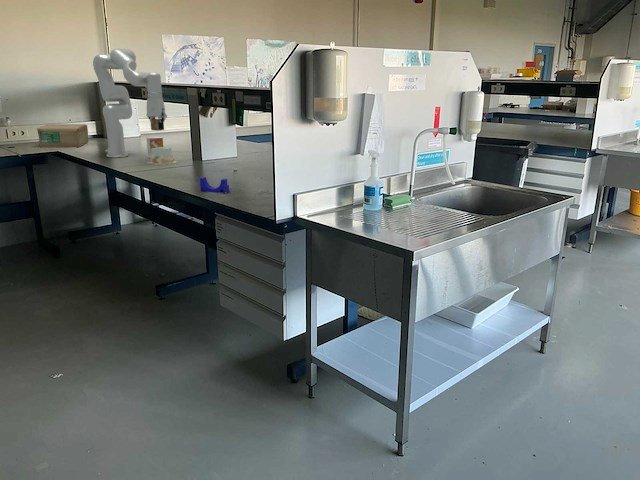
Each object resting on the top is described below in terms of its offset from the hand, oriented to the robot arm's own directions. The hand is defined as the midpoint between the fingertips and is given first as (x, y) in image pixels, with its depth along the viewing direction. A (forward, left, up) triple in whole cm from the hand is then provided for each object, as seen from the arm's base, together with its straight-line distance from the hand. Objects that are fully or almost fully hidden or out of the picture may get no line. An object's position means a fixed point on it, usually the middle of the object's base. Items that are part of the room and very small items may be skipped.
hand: (157, 128), depth 300 cm
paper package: (-110, +23, -20) cm, 114 cm away
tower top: (+1, +1, -15) cm, 15 cm away
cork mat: (+1, +1, -20) cm, 20 cm away
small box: (-13, +11, -20) cm, 26 cm away
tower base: (+1, +1, -19) cm, 19 cm away
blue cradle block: (+72, -43, -20) cm, 87 cm away
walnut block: (0, 0, -1) cm, 1 cm away
